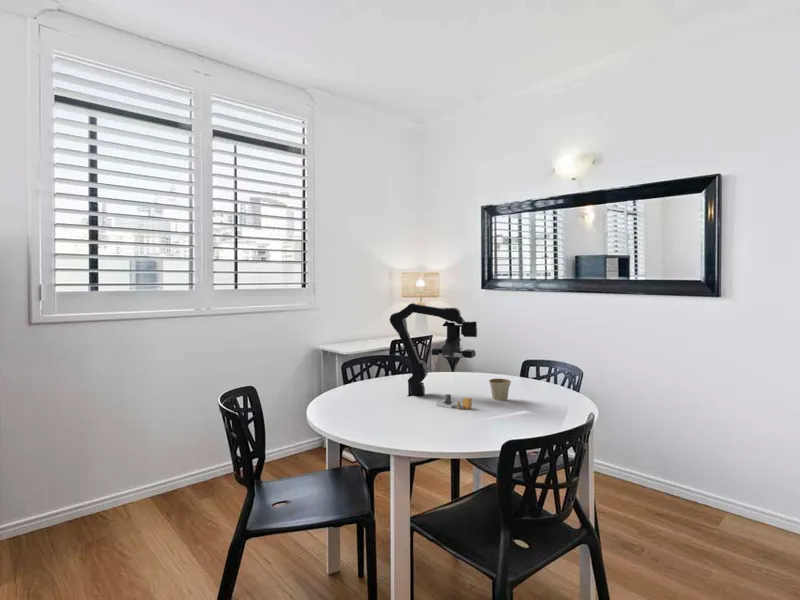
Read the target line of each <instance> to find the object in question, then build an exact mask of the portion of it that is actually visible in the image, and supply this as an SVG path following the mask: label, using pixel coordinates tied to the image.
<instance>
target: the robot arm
mask: <svg viewBox="0 0 800 600" xmlns="http://www.w3.org/2000/svg"><path fill="white" fill-rule="evenodd" d="M412 314H421V315H427V316H432V317H437V318H441V319H442V320H445V322H444V323H443V324H442V325H441V326H442V327H446V338H445V343H444V344H443V346H442V347H440V346H436V347H433V348H431V356H439V355H440V354H441V355H442V356H443V358H444V359H446V361H447V362H448V365H449V367H450V370H451V373H455V372H456V368H457V366H458V364H459V362H460V360H461V359H462V358H465V359H466V358H467V359H473V358H474V357H476V350H474V349H468V348H467V349H464V350H462V348H461V340H462V338H461V335H462V336H463V337H464V338H477V337H478V325H477V323H478V322H477V321H474V320H473V321H465V319H464V318H463V316H462V313H461V311H460V309H458V308H457V307H436V306H431V305H423V304H419V303H418V304H417V303H414V302H412V303H409V304H408V305H407V306H406V307H404V308H403V309H401V310H400V311H399V312H394V313H392V314H391V315H390V318H389V323H390V324H391V326H392V327H393V329H394V330H395V332H396V333H397V334H398V336H399V338H400V340H401V343H402V346H403V348H404V350H405V353H406V355H407V357H408V361H409V363H410V370H411V371H410V372H411V376H410V377H409V379H407V385H408V389H407V392H408V395H407V396H406V397H424V396H425V395H426V394H425V392H426V391H425V389H426V388H425V387H426V386H425V385H424V384H425V383H424V382H423V381H424V380H425V379H426V377H428V373H429V371H428V370H429V368H428V365H427V363H426V361H425V360H423V361H422V360H421V359H420V357H419V355H418V353H417V350H416V348H415V345H414V343H413V340H412V338H411V336H410V333H409V331H408V325H407V318H408V317H410V316H411V315H412Z"/></svg>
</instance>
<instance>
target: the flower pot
mask: <svg viewBox="0 0 800 600" xmlns="http://www.w3.org/2000/svg"><path fill="white" fill-rule="evenodd" d="M488 382H489V384H490V385H489V386H490V390H491V396H492V397H491V398H492V399H493V400H496V401H505V402H508V398H509V389H510V386H511V383H512V381H511V380H510V379H506V378H490V379H489V380H488Z"/></svg>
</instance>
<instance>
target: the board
mask: <svg viewBox="0 0 800 600" xmlns="http://www.w3.org/2000/svg"><path fill="white" fill-rule="evenodd" d="M451 398H452V394H450V393H447V394H444V399H445V403H448V404H450V403H451V400H452V399H451ZM455 401H456V410H461V408H460V403H461V401H460V400H459V401H458V400H455Z"/></svg>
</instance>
